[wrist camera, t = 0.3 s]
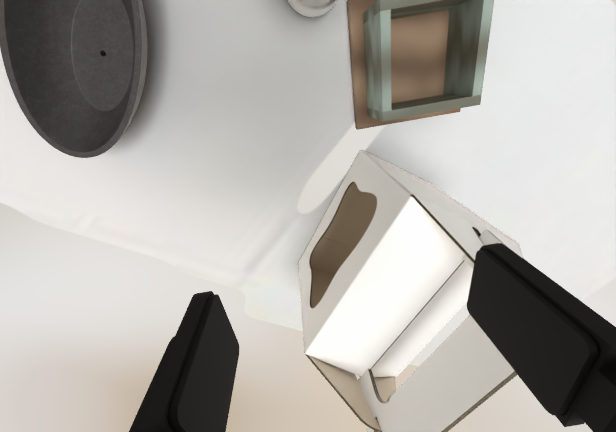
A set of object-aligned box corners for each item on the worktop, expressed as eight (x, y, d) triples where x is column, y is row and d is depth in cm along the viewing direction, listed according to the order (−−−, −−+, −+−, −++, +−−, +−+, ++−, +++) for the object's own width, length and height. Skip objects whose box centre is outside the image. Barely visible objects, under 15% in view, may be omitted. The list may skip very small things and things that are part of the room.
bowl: (182, -32, 28) (156, -62, 22) (152, 160, 36) (128, 173, 31) (50, -99, 25) (-17, -152, 19) (52, 126, 33) (5, 134, 28)
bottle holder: (346, 1, 30) (362, -21, 24) (468, -20, 30) (516, -48, 24) (355, 128, 36) (370, 137, 30) (455, 110, 36) (491, 116, 30)
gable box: (361, 285, 49) (438, 492, 24) (297, 264, 46) (309, 477, 21) (432, 182, 41) (663, 336, 16) (360, 147, 38) (509, 270, 13)
